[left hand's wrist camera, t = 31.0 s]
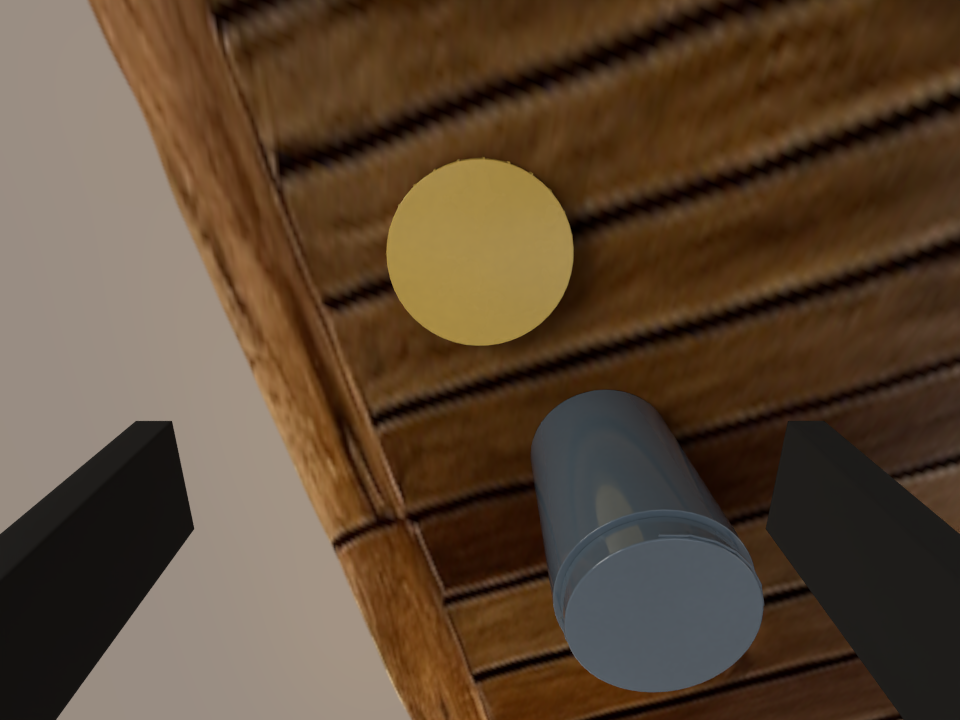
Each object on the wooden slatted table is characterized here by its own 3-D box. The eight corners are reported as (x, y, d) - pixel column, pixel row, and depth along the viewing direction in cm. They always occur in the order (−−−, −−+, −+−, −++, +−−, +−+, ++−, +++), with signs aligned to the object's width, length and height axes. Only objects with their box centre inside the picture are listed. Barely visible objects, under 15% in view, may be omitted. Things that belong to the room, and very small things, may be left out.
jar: (663, 512, 44) (753, 697, 30) (528, 512, 44) (553, 698, 30) (678, 389, 41) (789, 531, 26) (532, 389, 41) (561, 532, 26)
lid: (353, 230, 37) (347, 235, 35) (503, 116, 35) (504, 115, 33) (460, 368, 40) (459, 378, 38) (603, 272, 38) (609, 279, 36)
